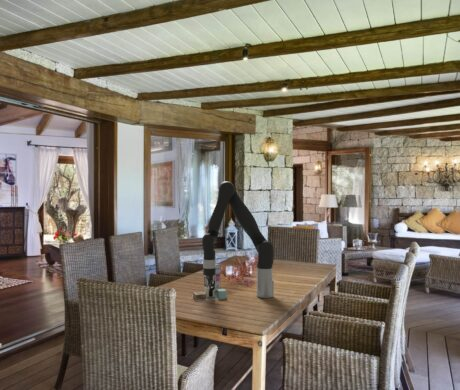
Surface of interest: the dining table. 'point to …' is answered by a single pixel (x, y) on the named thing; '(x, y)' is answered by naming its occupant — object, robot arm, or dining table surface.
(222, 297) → the teal cube
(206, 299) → the board
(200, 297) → the walnut base
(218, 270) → the candy bar box
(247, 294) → the dining table surface
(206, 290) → the cream cube
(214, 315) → the dining table surface
